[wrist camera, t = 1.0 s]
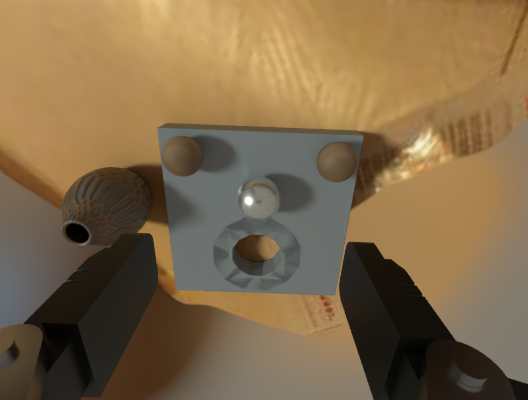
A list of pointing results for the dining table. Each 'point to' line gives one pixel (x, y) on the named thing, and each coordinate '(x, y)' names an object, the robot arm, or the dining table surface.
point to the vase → (105, 207)
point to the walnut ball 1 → (182, 156)
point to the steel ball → (258, 198)
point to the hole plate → (277, 227)
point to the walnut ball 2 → (336, 162)
